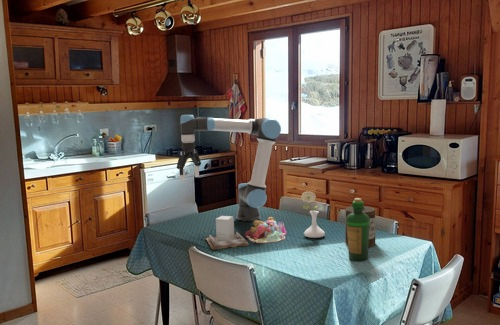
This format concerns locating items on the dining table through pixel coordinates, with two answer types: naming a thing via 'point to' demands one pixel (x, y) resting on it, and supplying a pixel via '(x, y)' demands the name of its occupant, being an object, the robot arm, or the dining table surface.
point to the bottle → (358, 232)
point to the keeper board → (227, 242)
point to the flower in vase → (313, 229)
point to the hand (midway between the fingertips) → (189, 178)
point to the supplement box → (225, 228)
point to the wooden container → (371, 215)
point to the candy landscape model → (266, 231)
